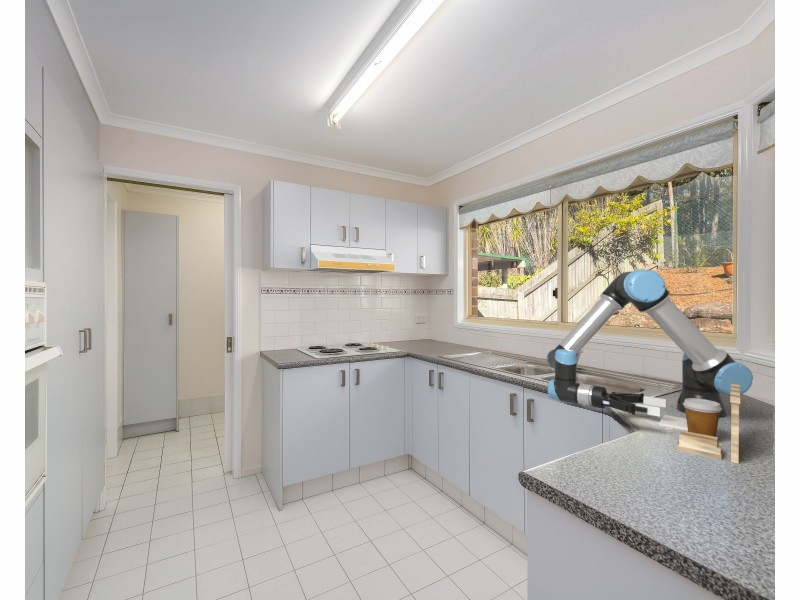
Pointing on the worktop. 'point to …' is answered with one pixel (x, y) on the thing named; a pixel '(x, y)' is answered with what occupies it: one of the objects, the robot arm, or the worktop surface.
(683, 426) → the white square coaster
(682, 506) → the worktop surface
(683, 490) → the worktop surface
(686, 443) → the offcut stack
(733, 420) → the pine panel
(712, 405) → the disposable coffee cup
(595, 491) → the worktop surface
